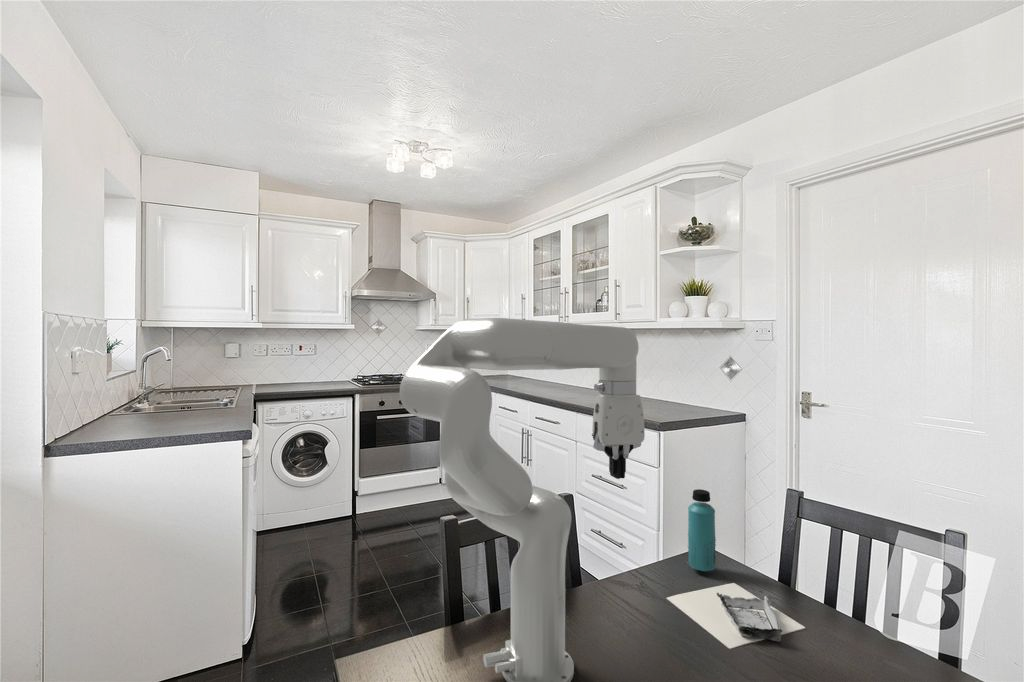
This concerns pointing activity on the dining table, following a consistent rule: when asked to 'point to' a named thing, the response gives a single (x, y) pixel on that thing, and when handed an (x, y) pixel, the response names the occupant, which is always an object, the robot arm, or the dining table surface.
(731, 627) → the mat
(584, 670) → the dining table surface
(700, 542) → the beverage bottle
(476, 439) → the robot arm
